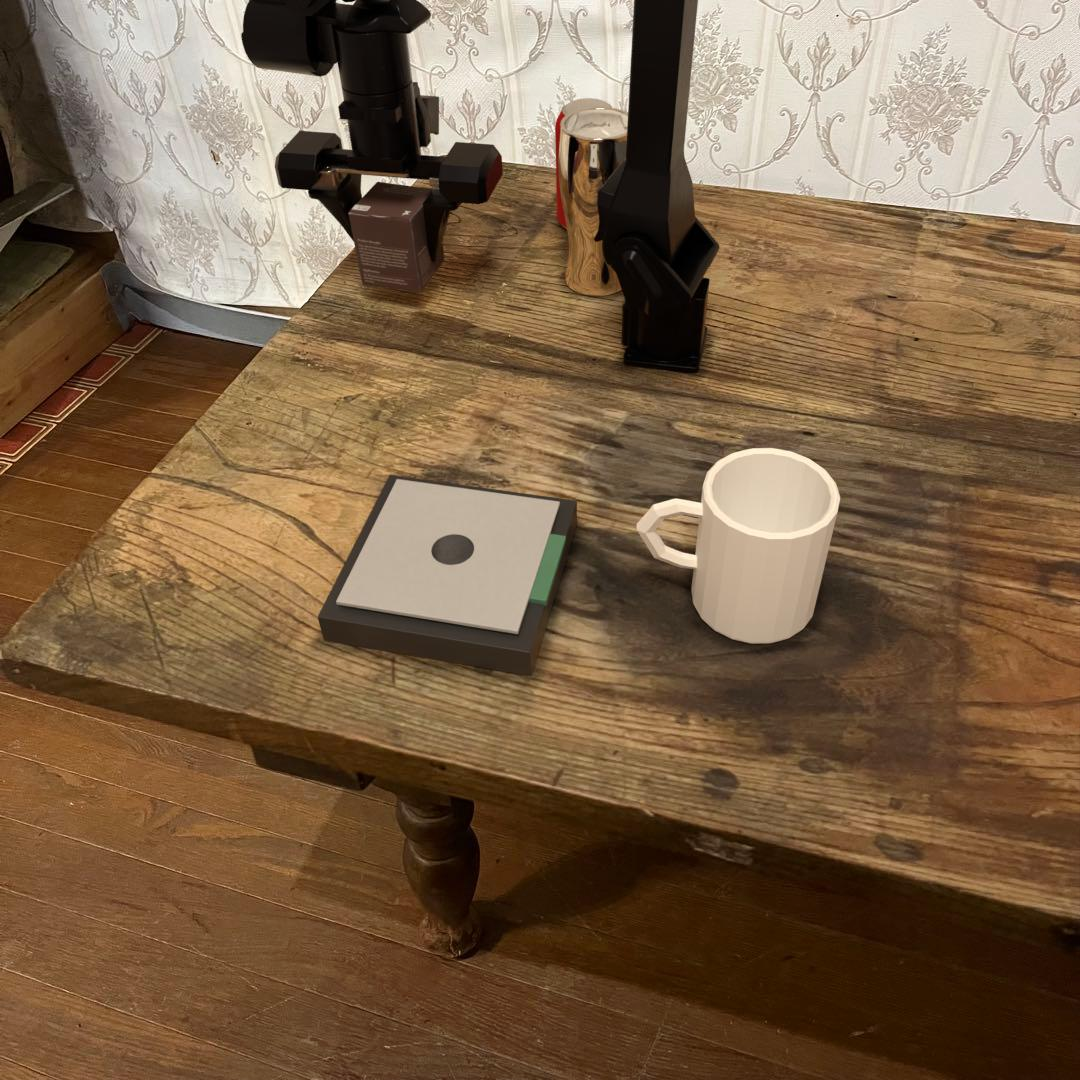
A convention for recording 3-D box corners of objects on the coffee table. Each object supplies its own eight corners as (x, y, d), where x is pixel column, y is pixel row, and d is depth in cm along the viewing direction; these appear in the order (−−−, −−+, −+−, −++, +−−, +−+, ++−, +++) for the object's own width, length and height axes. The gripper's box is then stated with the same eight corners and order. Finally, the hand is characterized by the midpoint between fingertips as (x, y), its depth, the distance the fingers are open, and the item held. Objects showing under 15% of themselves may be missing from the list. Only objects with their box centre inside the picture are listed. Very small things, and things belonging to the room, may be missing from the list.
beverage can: (618, 211, 107) (621, 94, 99) (616, 241, 103) (618, 121, 94) (559, 210, 108) (557, 93, 99) (554, 240, 103) (552, 121, 95)
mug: (629, 556, 72) (634, 448, 65) (802, 554, 72) (826, 445, 65) (636, 646, 66) (642, 538, 60) (824, 644, 66) (852, 535, 59)
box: (446, 262, 97) (438, 188, 92) (420, 296, 93) (410, 220, 88) (387, 253, 98) (376, 179, 93) (359, 286, 94) (346, 210, 89)
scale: (578, 524, 75) (578, 494, 72) (533, 676, 65) (531, 646, 63) (393, 498, 77) (388, 467, 75) (323, 640, 68) (315, 610, 66)
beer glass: (628, 302, 95) (634, 142, 84) (554, 295, 96) (550, 137, 86) (638, 263, 100) (645, 107, 89) (567, 257, 101) (566, 103, 90)
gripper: (513, 50, 87) (522, 222, 98) (307, 39, 90) (338, 206, 101) (477, 104, 79) (491, 283, 90) (253, 89, 83) (293, 264, 94)
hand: (401, 256), depth 94 cm, fingers closed on box, 6 cm apart
